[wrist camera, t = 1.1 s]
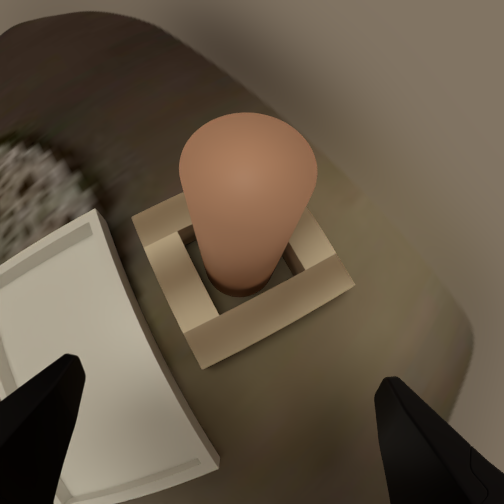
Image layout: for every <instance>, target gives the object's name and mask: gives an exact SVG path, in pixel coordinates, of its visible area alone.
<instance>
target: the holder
mask: <svg viewBox="0 0 504 504" xmlns="http://www.w3.org/2000/svg"><path fill="white" fill-rule="evenodd" d="M131 218H132V220H133V223H134V225H135V228H136V230H137V233H138V235H139V238H140V240H141V242H142V245H143V247H144V250H145V252H146V254H147V257H148V259H149V261H150V264H151V266H152V268H153V270H154V273H155V275H156V277H157V279H158V282H159V284H160V286H161V288H162V290H163V293H164V295H165V297H166V299H167V301H168V303H169V305H170V308H171V310H172V312H173V314H174V316H175V318H176V320H177V322H178V324H179V326H180V328H181V330H182V332H183V334H184V336H185V338H186V340H187V342H188V344H189V346H190V348H191V350H192V352H193V354H194V356H195V357H196V359H197V361H198V363H199V365H200V367H201V369H202V370H203V369H205V368H207V367H209V366H211V365H213V364H215V363H217V362H219V361H221V360H223V359H225V358H227V357H229V356H231V355H233V354H235V353H237V352H239V351H240V350H242V349H244V348H246V347H248V346H250V345H252V344H254V343H256V342H258V341H259V340H261V339H263V338H265V337H267V336H269V335H271V334H272V333H274V332H276V331H278V330H280V329H281V328H283V327H285V326H287V325H289V324H290V323H292V322H294V321H296V320H297V319H299V318H301V317H303V316H304V315H306V314H308V313H310V312H311V311H313V310H315V309H316V308H318V307H320V306H322V305H323V304H325V303H327V302H328V301H330V300H332V299H333V298H335V297H337V296H338V295H340V294H342V293H343V292H345V291H346V290H348V289H350V288H351V287H353V286H355V284H354V282H353V281H352V279H351V277H350V275H349V274H348V272H347V270H346V269H345V267H344V265H343V264H342V262H341V260H340V259H339V257H338V255H337V254H336V252H335V250H334V249H333V247H332V245H331V244H330V242H329V241H328V239H327V237H326V236H325V234H324V232H323V231H322V229H321V228H320V226H319V224H318V223H317V221H316V220H315V218H314V217H313V215H312V213H311V212H310V210H309V209H308V207H307V206H306V207H305V209H304V211H303V213H302V216H301V218H300V220H299V222H298V224H297V226H296V228H295V230H294V232H293V234H292V236H291V238H290V240H289V242H288V244H287V246H286V248H285V250H284V252H283V254H282V256H283V258H284V260H285V262H286V263H287V265H288V267H289V268H290V270H291V272H292V274H293V275H294V277H292V278H290V279H288V280H286V281H284V282H283V283H281V284H279V285H277V286H275V287H273V288H271V289H269V290H268V291H266V292H264V293H262V294H260V295H258V296H256V297H254V298H252V299H250V300H248V301H247V302H245V303H243V304H241V305H239V306H237V307H235V308H233V309H231V310H229V311H227V312H225V313H223V314H221V315H219V314H218V312H217V310H216V308H215V306H214V304H213V302H212V300H211V298H210V297H209V295H208V293H207V291H206V289H205V287H204V285H203V283H202V281H201V279H200V277H199V275H198V273H197V271H196V269H195V267H194V265H193V263H192V261H191V259H190V257H189V255H188V253H187V251H186V248H185V245H187V244H189V243H191V242H193V241H195V240H197V239H196V235H195V232H194V228H193V224H192V221H191V217H190V214H189V210H188V206H187V202H186V199H185V195H184V192H183V193H181V194H178V195H176V196H174V197H172V198H170V199H168V200H166V201H163V202H161V203H159V204H157V205H155V206H153V207H151V208H149V209H147V210H145V211H143V212H141V213H139V214H137V215H135V216H133V217H131Z"/></svg>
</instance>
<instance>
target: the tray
mask: <svg viewBox="0 0 504 504" xmlns="http://www.w3.org/2000/svg"><path fill="white" fill-rule="evenodd" d="M66 353H69V354H73V355H77V356H78V357H79V358H80V361H81V363H82V366H83V368H84V371H85V374H86V381H85V385H84V389H83V394H82V398H81V403H80V407H79V412H78V417H77V421H76V424H75V428H74V431H73V434H72V437H71V440H70V444H69V447H68V450H67V454H66V457H65V460H64V464H63V468H62V471H61V475H60V479H59V482H58V486H57V490H56V494H55V498H54V502H53V503H54V504H115V503H119V502H123V501H127V500H131V499H134V498H138V497H141V496H145V495H148V494H151V493H155V492H158V491H161V490H164V489H167V488H170V487H173V486H176V485H178V484H181V483H184V482H187V481H189V480H192V479H195V478H197V477H200V476H202V475H205V474H207V473H210V472H212V471H215V470H217V469H219V462H220V456H219V455H218V453H217V452H216V450H215V448H214V447H213V445H212V444H211V442H210V440H209V439H208V437H207V435H206V434H205V432H204V431H203V429H202V427H201V426H200V424H199V422H198V420H197V419H196V417H195V415H194V414H193V412H192V410H191V408H190V407H189V405H188V403H187V401H186V399H185V398H184V396H183V394H182V392H181V390H180V388H179V387H178V385H177V383H176V381H175V379H174V377H173V375H172V373H171V371H170V369H169V368H168V366H167V364H166V362H165V360H164V358H163V356H162V354H161V352H160V350H159V347H158V345H157V343H156V341H155V339H154V337H153V335H152V333H151V331H150V329H149V326H148V324H147V322H146V320H145V318H144V315H143V313H142V311H141V309H140V306H139V304H138V302H137V299H136V297H135V295H134V292H133V290H132V288H131V285H130V283H129V280H128V278H127V275H126V273H125V270H124V268H123V265H122V263H121V260H120V258H119V255H118V252H117V250H116V247H115V244H114V242H113V239H112V236H111V233H110V230H109V228H108V225H107V222H106V221H105V219H104V218H103V217H102V216H101V215H100V213H99V212H98V211H97V210H96V209H93V210H91V211H90V212H88V213H86V214H84V215H82V216H80V217H79V218H77V219H75V220H73V221H72V222H70V223H68V224H66V225H64V226H63V227H61V228H59V229H58V230H56V231H54V232H52V233H51V234H49V235H47V236H46V237H44V238H42V239H41V240H39V241H37V242H36V243H34V244H33V245H31V246H29V247H28V248H26V249H25V250H23V251H21V252H20V253H18V254H17V255H15V256H14V257H12V258H11V259H9V260H8V261H6V262H5V263H3V264H2V265H0V398H1V401H2V400H3V399H4V398H6V397H7V396H8V395H10V394H11V393H12V392H14V391H15V390H16V389H18V388H19V387H20V386H22V385H23V384H24V383H26V382H27V381H28V380H30V379H31V378H32V377H34V376H35V375H37V374H38V373H39V372H41V371H42V370H43V369H45V368H46V367H47V366H49V365H50V364H51V363H53V362H54V361H56V360H57V359H58V358H60V357H61V356H62V355H64V354H66Z"/></svg>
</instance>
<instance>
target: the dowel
mask: <svg viewBox="0 0 504 504" xmlns="http://www.w3.org/2000/svg"><path fill="white" fill-rule="evenodd" d="M179 174H180V179H181V184H182V187H183V191H184V195H185V199H186V202H187V206H188V210H189V214H190V217H191V221H192V224H193V228H194V232H195V235H196V239H197V242H198V246H199V249H200V253H201V256H202V260H203V263H204V266H205V270H206V273H207V276H208V278H209V280H210V282H211V283H212V284H213V286H214V287H215V288H216V289H218V290H219V291H220V292H222V293H224V294H226V295H229V296H233V297H245V296H250V295H252V294H255V293H257V292H258V291H260V290H261V289H262V288H263V287H264V286H265V285H266V284H267V283H268V281H269V279H270V277H271V275H272V273H273V271H274V269H275V268H276V266H277V264H278V262H279V260H280V258H281V256H282V254H283V252H284V250H285V248H286V246H287V244H288V242H289V240H290V238H291V236H292V234H293V232H294V230H295V228H296V226H297V224H298V222H299V220H300V218H301V216H302V213H303V211H304V209H305V207H306V205H307V203H308V201H309V199H310V197H311V195H312V193H313V191H314V188H315V185H316V181H317V163H316V159H315V156H314V153H313V151H312V149H311V147H310V145H309V144H308V142H307V141H306V140H305V139H304V137H303V136H302V135H301V134H300V133H299V132H298V131H297V130H295V129H294V128H293V127H291V126H290V125H288V124H287V123H285V122H283V121H281V120H279V119H276V118H274V117H271V116H268V115H263V114H258V113H234V114H229V115H225V116H222V117H219V118H216V119H214V120H212V121H210V122H208V123H206V124H205V125H203V126H202V127H201V128H199V129H198V130H197V131H196V132H195V133H194V134H193V135H192V136H191V137H190V139H189V140H188V141H187V143H186V145H185V146H184V149H183V151H182V154H181V157H180V163H179Z"/></svg>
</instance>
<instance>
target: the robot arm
mask: <svg viewBox="0 0 504 504" xmlns="http://www.w3.org/2000/svg"><path fill="white" fill-rule="evenodd" d="M85 381H86V374H85V371H84V368H83V366H82V363H81V361H80V358H79V357H78V356H77V355H73V354H69V353H66V354H64V355H62V356H61V357H60V358H58V359H57V360H56V361H54V362H53V363H51V364H50V365H49V366H47V367H46V368H45V369H43V370H42V371H41V372H39V373H38V374H37V375H35V376H34V377H32V378H31V379H30V380H28V381H27V382H26V383H24V384H23V385H22V386H20V387H19V388H18V389H16V390H15V391H14V392H12V393H11V394H10V395H8V396H7V397H6V398H4V399H3V400H2V401H0V504H53V502H54V498H55V494H56V490H57V486H58V482H59V479H60V475H61V471H62V468H63V464H64V460H65V457H66V454H67V450H68V447H69V444H70V440H71V437H72V434H73V431H74V428H75V424H76V421H77V417H78V412H79V407H80V403H81V398H82V394H83V389H84V385H85ZM374 402H375V411H376V420H377V429H378V439H379V445H380V451H381V455H382V460H383V465H384V470H385V475H386V481H387V486H388V492H389V497H390V503H391V504H504V473H503V472H501V471H500V470H499V469H497V468H496V467H495V466H494V465H492V464H491V463H490V462H489V461H487V460H486V459H485V458H484V457H483V456H482V455H481V454H480V453H479V452H478V451H477V450H476V449H474V448H473V447H472V446H471V445H470V444H469V443H468V442H467V441H466V440H465V439H464V438H463V437H462V436H461V435H459V434H458V433H457V432H456V431H455V430H454V429H453V428H452V427H451V426H450V425H449V424H448V423H447V422H446V421H445V420H444V419H443V418H441V417H440V416H439V415H438V414H437V413H436V412H435V411H434V410H433V409H432V408H431V407H430V406H429V405H428V404H427V403H425V402H424V401H423V400H422V399H421V398H420V397H419V396H418V395H417V394H416V393H415V392H414V391H413V390H412V389H410V388H409V387H408V386H407V385H406V384H405V383H404V382H403V381H402V380H401V379H400V378H398V377H396V376H393V377H385V378H384V379H383V380H382V382H381V384H380V386H379V388H378V390H377V391H376V393H375V397H374Z"/></svg>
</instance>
